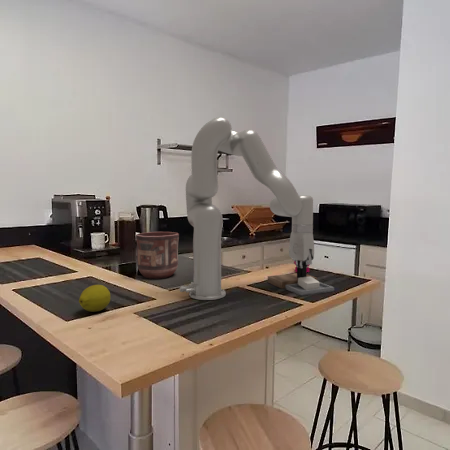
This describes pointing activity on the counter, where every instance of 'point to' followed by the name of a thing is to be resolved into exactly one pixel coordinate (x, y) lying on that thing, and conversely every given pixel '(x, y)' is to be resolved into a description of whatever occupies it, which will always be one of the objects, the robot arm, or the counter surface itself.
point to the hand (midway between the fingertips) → (301, 277)
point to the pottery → (157, 254)
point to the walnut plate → (285, 279)
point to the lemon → (95, 298)
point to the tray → (302, 292)
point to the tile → (308, 283)
